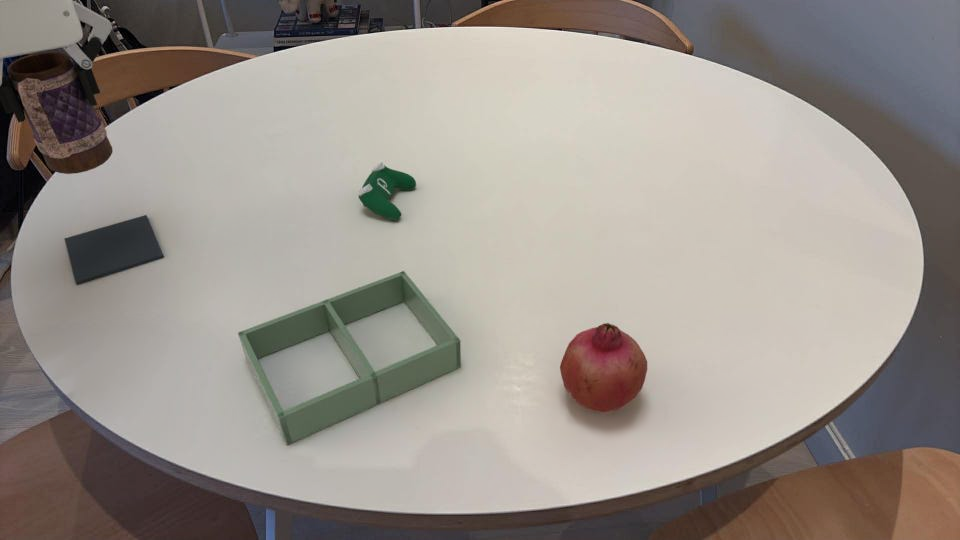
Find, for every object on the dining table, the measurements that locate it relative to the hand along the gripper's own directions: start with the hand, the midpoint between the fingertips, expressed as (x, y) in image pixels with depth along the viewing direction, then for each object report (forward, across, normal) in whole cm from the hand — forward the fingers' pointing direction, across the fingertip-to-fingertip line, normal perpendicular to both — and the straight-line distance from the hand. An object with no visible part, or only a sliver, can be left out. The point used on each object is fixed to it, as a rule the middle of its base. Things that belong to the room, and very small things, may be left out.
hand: (56, 107), depth 75 cm
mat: (+20, 0, -1) cm, 20 cm away
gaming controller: (+20, -34, +7) cm, 40 cm away
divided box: (+20, -18, +32) cm, 42 cm away
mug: (+7, 0, 0) cm, 7 cm away
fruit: (+20, -37, +49) cm, 65 cm away
